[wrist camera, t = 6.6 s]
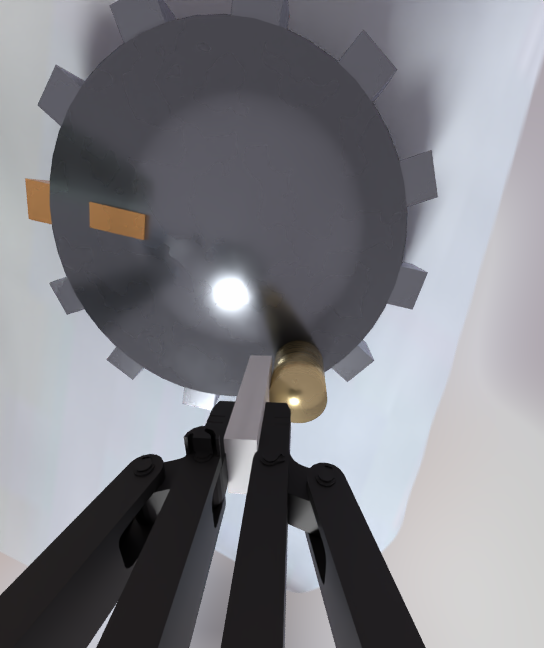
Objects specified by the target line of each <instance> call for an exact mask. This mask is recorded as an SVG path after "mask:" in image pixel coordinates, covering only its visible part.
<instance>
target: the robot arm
mask: <svg viewBox="0 0 544 648" xmlns="http://www.w3.org/2000/svg"><path fill="white" fill-rule="evenodd" d="M271 378H272V356H260V355H250V358H249V361H248V364H247V368H246V371H245V374H244V377H243V380H242V383H241V386H240V389H239V392H238V395H237V398H236V402H232V401H219V402H218V403H217V404H216V405H215V406H214V407H213V408H212V411H211V413H210V416H209V418H208V420H207V423H206V425H205V426H200V427H197V428H194V429H192V430H190V431H189V432H187V434H186V435H185V436H184V442H185V448H186V456H185V457H183V458H181V459H177V460H173V461H168V462H163V460H162V458H161V457H160V456H158V455H154V454H148V455H143V456H141V457H138V458H136V459H135V460H134V461H132V462H131V463H130V464H129V465H128V466H127V467H126V468H125V469H124V470H123V471H122V472H121V473H120V474H119V475H118V476H117V477H116V478H115V479H114V480H113V481H112V482H111V483H110V484H109V485H108V486H107V487H106V488H105V489H104V490H103V491H102V492H101V493H100V494H99V495H98V496H97V497H96V498H95V499H94V500H93V501H92V502H91V503H90V504H89V505H88V506H87V507H86V509H85V510H84V511H83V512H82V513H81V514H80V515H79V516H78V517H77V518H76V519H75V520H74V521H73V522H72V523H71V524H70V525H69V526H68V527H67V528H66V529H65V530H64V531H63V532H62V533H61V534H60V535H59V536H58V537H57V538H56V539H55V540H54V541H53V542H52V543H51V544H50V545H49V546H48V547H47V548H46V549H45V550H44V551H43V552H42V553H41V554H40V555H39V556H38V557H37V558H36V559H35V560H34V561H33V563H32V564H31V565H30V566H29V567H28V568H27V569H26V570H25V571H24V572H23V573H22V574H21V575H20V576H19V577H18V578H17V579H16V580H15V581H14V582H13V583H12V584H11V585H10V586H9V587H8V588H7V589H6V590H5V591H4V592H3V593H2V594H1V595H0V648H87V646H88V645H89V643H90V642H91V640H92V639H93V637H94V636H95V634H96V633H97V631H98V630H99V628H100V627H101V626H102V624H103V623H104V621H105V620H106V618H107V617H108V615H109V614H110V612H111V611H112V609H113V608H114V606H115V605H116V607H115V609H114V611H113V613H112V615H111V617H110V619H109V622H108V624H107V626H106V628H105V630H104V632H103V634H102V637H101V639H100V641H99V643H98V645H97V647H96V648H189V646H190V642H191V639H192V635H193V631H194V627H195V623H196V619H197V615H198V611H199V607H200V604H201V600H202V596H203V592H204V588H205V584H206V580H207V576H208V572H209V568H210V565H211V561H212V557H213V553H214V549H215V545H216V541H217V537H218V534H219V530H220V526H221V522H222V518H223V514H224V510H225V505H226V499H225V493H226V489H227V485H228V493H235V494H247V496H246V502H245V508H244V514H243V519H242V525H241V531H240V537H239V543H238V549H237V555H236V561H235V567H234V573H233V579H232V584H231V590H230V596H229V602H228V608H227V614H226V620H225V627H224V632H223V638H222V643H221V648H285V611H286V610H285V608H286V573H287V534H288V524H290V525H292V526H294V527H297V528H299V529H301V530H303V531H305V534H306V538H307V541H308V545H309V549H310V553H311V556H312V560H313V564H314V567H315V571H316V575H317V579H318V582H319V586H320V590H321V593H322V597H323V601H324V605H325V608H326V611H327V615H328V619H329V623H330V627H331V630H332V634H333V638H334V642H335V645H336V648H426V647H425V645H424V643H423V641H422V639H421V637H420V635H419V633H418V630H417V628H416V626H415V624H414V622H413V620H412V618H411V616H410V614H409V611H408V609H407V607H406V605H405V603H404V601H403V599H402V597H401V594H400V592H399V590H398V588H397V586H396V584H395V582H394V580H393V577H392V575H391V573H390V571H389V569H388V567H387V565H386V563H385V560H384V558H383V556H382V554H381V552H380V550H379V548H378V546H377V543H376V541H375V539H374V537H373V535H372V533H371V531H370V529H369V526H368V524H367V522H366V520H365V518H364V516H363V514H362V512H361V509H360V507H359V505H358V503H357V501H356V499H355V497H354V495H353V493H352V490H351V488H350V486H349V484H348V482H347V480H346V478H345V476H344V474H343V473H342V471H341V470H340V469H339V468H338V467H336V466H335V465H332V464H329V463H318V464H315V465H313V466H312V467H311V468H308V467H305V466H302V465H300V464H298V463H297V462H295V461H294V460H293V458H292V457H291V455H290V438H291V409H290V408H289V406H288V404H287V403H276V402H269V389H270V384H271ZM116 603H117V604H116Z"/></svg>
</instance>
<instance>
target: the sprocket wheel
mask: <svg viewBox="0 0 544 648" xmlns="http://www.w3.org/2000/svg"><path fill="white" fill-rule="evenodd" d="M110 8H111V10H112V13H113V15H114V18H115V21H116V23H117V26H118V28H119V31H120V34H121V36H122V39H123V41H124V44H122V45H121V46H119V47H118V48H117V49H116V50H115V51H114V52H113V53H111V54H110V55H109V56H108V57H107V58H106V59H105V60H103V61H102V62H101V63H100V64H99V65H98V66H97V68H96V69H95V70H94V71H93V72H92V74H91V75H90V76H89V77H88V79H87V80H86V81H84V80H82V79H80V78H79V77H77V76H75V75H73V74H72V73H70V72H68V71H66V70H65V69H63V68H61V67H59V66H57V65H56V66H55V68H54V70H53V72H52V74H51V77H50V79H49V81H48V83H47V85H46V88H45V90H44V92H43V94H42V96H41V98H40V101H39V103H38V106H39V107H40V108H41V109H42V110H43V111H45V112H46V113H47V114H48V115H49V116H50V117H51V118H52V119H54V120H55V121H56V122H57V123H58V124H59V125H60V126H61V128H60V130H59V134H58V138H57V142H56V145H55V149H54V153H53V158H52V166H51V174H50V181H46V180H36V179H26V178H25V180H26V192H27V204H28V215H29V219H31V220H35V221H40V222H44V223H48V224H52V229H53V233H54V238H55V242H56V246H57V250H58V254H59V257H60V259H61V262H62V265H63V268H64V271H65V273H66V276H67V277H65V278H62V279H59V280H56V281H53V282H50V283H49V284H50V285H51V287H52V289H53V291H54V293H55V294H56V296H57V298H58V300H59V301H60V303H61V305H62V307H63V308H64V310H65V312H66V314H70V313H74V312H77V311H80V310H83V309H85V310H86V312H87V313H88V315H89V316H90V317H91V319H92V320H93V321H94V322H95V324H96V325H97V326H98V328H99V329H100V330H101V331H102V332H103V333H104V334H105V335H106V336H107V337H108V338H109V340H110V341H111V342H112V343H113V344H114V345H115V346H117V347H116V348H115V349H114V351H113V352H112V353H111V355H110V356H109V357H108V358H107V360H108V361H109V362H110V363H111V364H113V365H114V366H115V367H117V368H118V369H119V370H121V371H122V372H123V373H125V374H126V375H127V376H129V377H130V378H131V379H134V378H135V377H136V376H137V375H138V374H139V373H140V372H141V371H142V370H143V369H144V368H145V369H147V370H149V371H151V372H152V373H154V374H156V375H158V376H160V377H161V378H163V379H166V380H168V381H170V382H173V383H175V384H178V385H180V386H183V387H185V388H184V396H183V404H186V405H190V406H194V407H198V408H202V409H207V410H211V411H212V408H213V407H214V406H215V404H216V402H217V400H218V398H219V396H220V395H226V396H237V395H238V392H239V389H240V386H241V383H242V380H243V377H244V374H245V371H246V368H247V364H248V361H249V358H250V355H260V356H272V378H271V384H270V389H269V402H276V403H287V404H288V406H289V408H290V409H291V422H293V423H305V422H309V421H312V420H314V419H316V418H317V417H318V416H320V415H321V414H322V412H323V411H324V409H325V407H326V404H327V392H326V384H325V375H324V372H326V371H327V370H329V369H330V368H332V369H334V370H335V371H336V372H337V373H338V374H339V375H340V376H341V377H343V378H344V379H345V380H346V381H347V382H348V381H349V380H351V379H352V378H353V377H354V376H356V375H357V374H358V373H359V372H361V371H362V370H363V369H364V368H366V367H367V366H368V365H369V364H371V363H372V362H373V361H374V359H373V357H372V355H371V353H370V350H369V348H368V346H367V344H366V342H365V341H363V339H364V337H365V336H366V335H367V334H368V332H369V331H370V330H371V329H372V328H373V326H374V325H375V323H376V321H377V320H378V318H379V316H380V315H381V313H382V312H383V310H384V308H385V307H386V304H392V305H396V306H400V307H404V308H408V309H413V307H414V305H415V302H416V300H417V297H418V295H419V293H420V290H421V288H422V285H423V283H424V280H425V278H426V276H427V273H428V272H426V271H424V270H422V269H420V268H419V267H417V266H415V265H413V264H410V263H405V262H402V259H403V253H404V247H405V241H406V226H407V207H408V206H411V205H414V204H417V203H421V202H424V201H427V200H430V199H433V198H436V197H438V196H437V188H436V180H435V173H434V165H433V157H432V150H430V151H427V152H424V153H422V154H419V155H416V156H413V157H410V158H407V159H404V160H401V161H399V158H398V155H397V153H396V150H395V147H394V145H393V142H392V139H391V137H390V134H389V132H388V129H387V127H386V125H385V124H384V122H383V120H382V118H381V116H380V115H379V113H378V111H377V109H376V107H375V105H374V104H373V101H374V100H375V99H376V98H377V97H378V96H379V94H380V93H381V92H382V91H383V90H384V88H385V87H386V85H387V84H388V82H389V81H390V79H391V78H392V76H393V75H394V73H395V72H396V70H397V69H396V68H395V67H394V66H393V64H392V63H391V62H390V61H389V60H388V58H387V57H386V56H385V55H384V54H383V52H382V51H381V50H380V49H379V48H378V46H377V45H376V44H375V43H374V42H373V40H372V39H371V38H370V37H369V36H368V34H367V33H366V32H365V31H364V30H363V31H362V32H361V33H360V35H359V36H358V37H357V39H356V40H355V41H354V42H353V44H352V45H351V46H350V48H349V49H348V50H347V51H346V53H345V54H344V55H343V57H342V58H341V59H340V60H339V62H337V61H336V60H335V59H334V58H333V57H331V56H330V55H329V54H327V53H326V52H324V51H323V50H322V49H320V48H319V47H317V46H316V45H315V44H313V43H312V42H311V41H309V40H307V39H305V38H303V37H301V36H299V35H297V34H295V33H293V32H291V31H289V30H287V26H288V20H289V7H288V0H233V1H232V9H231V15H227V14H218V15H195V16H191V17H186V18H182V19H177V20H176V19H175V16H174V15H173V13H172V12H171V10H170V9H169V7H168V6H167V4H166V3H165V2H164V0H119V1H117V2H115V3H113V4H111V5H110Z"/></svg>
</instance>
